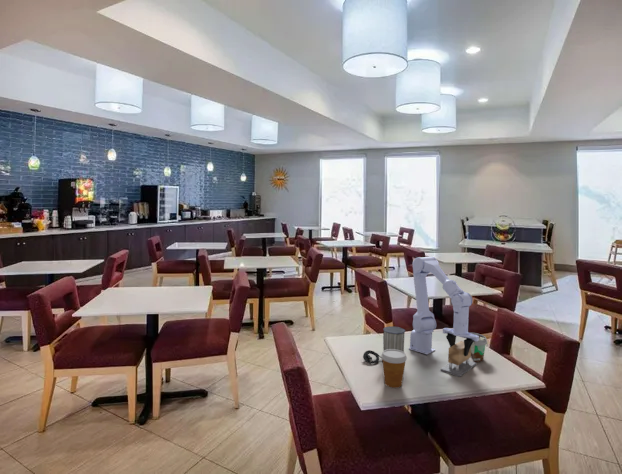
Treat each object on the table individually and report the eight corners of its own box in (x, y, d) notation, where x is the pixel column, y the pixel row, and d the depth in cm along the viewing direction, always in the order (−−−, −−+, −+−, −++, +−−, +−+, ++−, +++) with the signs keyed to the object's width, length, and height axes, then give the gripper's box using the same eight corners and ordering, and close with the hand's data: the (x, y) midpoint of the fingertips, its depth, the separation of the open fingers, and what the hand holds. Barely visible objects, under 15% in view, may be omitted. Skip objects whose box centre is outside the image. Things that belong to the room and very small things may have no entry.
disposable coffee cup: (377, 378, 151) (378, 348, 150) (401, 378, 152) (402, 348, 151) (384, 390, 142) (385, 358, 141) (409, 389, 142) (410, 358, 141)
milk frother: (408, 365, 164) (410, 331, 163) (379, 372, 157) (380, 336, 156) (387, 353, 177) (388, 322, 176) (359, 359, 170) (359, 326, 168)
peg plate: (440, 370, 159) (440, 362, 159) (458, 359, 171) (458, 352, 171) (459, 376, 154) (459, 368, 153) (476, 364, 166) (476, 357, 165)
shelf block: (448, 362, 160) (448, 348, 159) (460, 354, 168) (461, 341, 168) (458, 365, 157) (459, 350, 156) (470, 357, 165) (471, 343, 165)
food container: (489, 364, 166) (490, 342, 165) (474, 363, 167) (475, 340, 166) (482, 354, 178) (483, 332, 177) (468, 352, 179) (469, 331, 178)
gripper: (439, 320, 163) (438, 351, 164) (474, 328, 153) (472, 361, 154) (447, 316, 168) (446, 347, 169) (481, 324, 158) (479, 356, 159)
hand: (459, 353), depth 162 cm, fingers open, 5 cm apart
